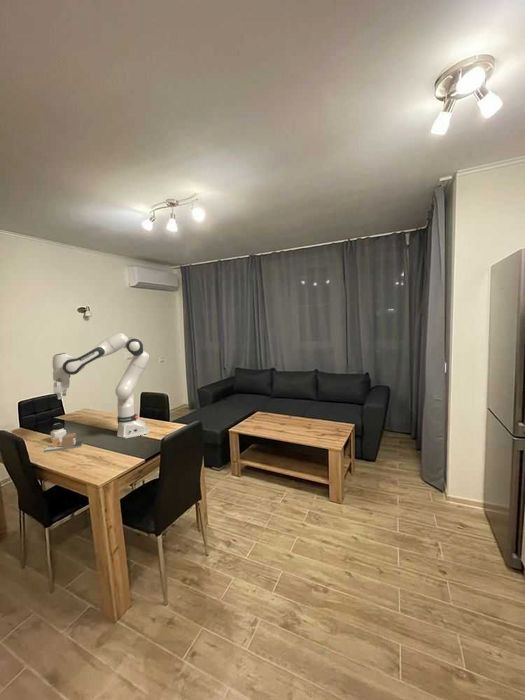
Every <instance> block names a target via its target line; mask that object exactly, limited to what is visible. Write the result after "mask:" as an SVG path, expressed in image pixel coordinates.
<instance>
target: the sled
mask: <svg viewBox="0 0 525 700" xmlns="http://www.w3.org/2000/svg"><path fill="white" fill-rule="evenodd" d="M51 442H52V445H53V447H59V446H63V444H62V442H60V441H59V437H57V438H53V439H52V441H51ZM73 442H74V444H75V443H76V442H77V439H76V440H75V438H73Z"/></svg>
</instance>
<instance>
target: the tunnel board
mask: <svg viewBox="0 0 525 700" xmlns="http://www.w3.org/2000/svg"><path fill="white" fill-rule="evenodd" d="M73 438H75V440H76V443H75V444H74V442H73ZM62 444H63V446H59V447H53V444H51V445H47V446H46V448H44V451H43V452H44V453H47V452H48V453H49V452H53V451H54V452H55V451H61V450H69V449H77V448H81V447H82V446H83V444H84V440H82V441H77V433H76V432H72V433H71V432H70V433H66V434H65V435H64V436H63V437H62Z"/></svg>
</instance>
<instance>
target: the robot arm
mask: <svg viewBox="0 0 525 700" xmlns="http://www.w3.org/2000/svg"><path fill="white" fill-rule="evenodd" d="M122 349H126V350H127V351H128V352H129V353H130V354H131V355H132V356H133V357H132V359H131V360H130V362H129V364H128V365H127V368H126V370H125V371H124V373H123V375H122V376H121V379H120V380H119V382H118V383H117V385H116V388H115V391H114V392H115V395H116V397H117V404H116V405H117V407H116V408H117V420H116V421H117V424H118V425H117V434H116V437H118V438H123V439H129V438H136V437H139V436H140V435H141V436H145V435H144V434H146V435H148V434H149V433H150V432H151V429H150V427H148V426H147V423H146V422H145V421H144V420H141V419H139V416H138V415H139V414H138V413H135V389H136V387H137V386H138V385H137V384H138V383H139V381H140V379H141V378H142V377H141V376H143V373H144V372H145V370H146V367H147V365H148V364H149V360H150V354H149V353H148V352H147V351H144V342H143V340H141V339H140V338H139V337H128V336H127V335H126V334H125V333H123V332H119V333H116V334H113V335H111V336H109V337H107V338H104V340H102V341H101V342H99V343H98V344H96V345H95V347H94V348H92V349H91V350H90V351H88V352H87V353H85V354H83V355H81V356H78V357H76V356H72V355H70V354H68V353H67V352H63V353H62V352H61V353H57V354H54V355H53V356H52V369H53V371H52V381H54V382H53V394H54V395H55V394H56V396H57V400H62V399H63V398H62V397H66V395H67V392H68V391H67V390H68V389H69V387H70V378H71V375H72V376H74V375H77V374H78V373H79V372H80V371H82V370H83V369H84V368H85V366H86V365H88V364H89V363H91V362H93V361H95V360H98V359H100V358H103V357H106V356H110V355H112V354H114V353H116V352H118V351H119V350H122Z"/></svg>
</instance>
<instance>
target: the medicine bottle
mask: <svg viewBox="0 0 525 700" xmlns="http://www.w3.org/2000/svg"><path fill="white" fill-rule="evenodd" d="M65 434H67V430H66V429H65V428H64V423H62V422H58V423H54V424H53V425H52V430H51V431H50V441H51V442H52V439H53V438H57V437H59V441H60V443H61V442H62V437H63V436H64V435H65Z"/></svg>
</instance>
